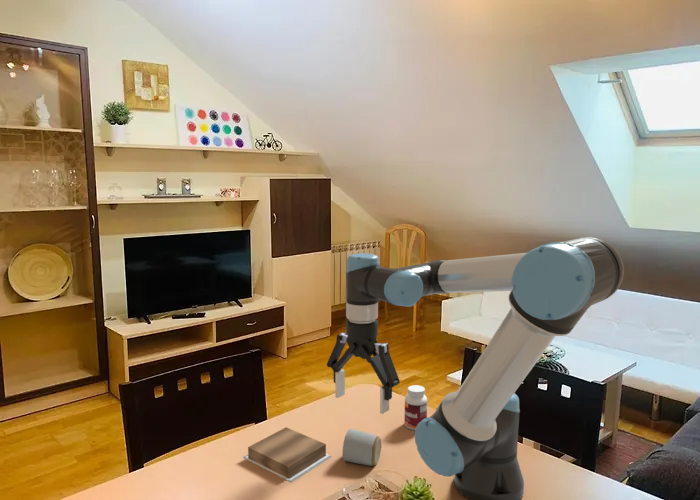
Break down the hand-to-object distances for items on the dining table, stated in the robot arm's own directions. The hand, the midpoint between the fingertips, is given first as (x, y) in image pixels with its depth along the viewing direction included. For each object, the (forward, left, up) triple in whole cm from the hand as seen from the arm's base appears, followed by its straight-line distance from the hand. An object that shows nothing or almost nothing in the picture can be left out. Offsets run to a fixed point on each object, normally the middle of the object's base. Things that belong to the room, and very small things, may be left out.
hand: (361, 403), depth 130 cm
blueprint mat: (+15, +11, -15) cm, 23 cm away
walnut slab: (+15, +11, -14) cm, 23 cm away
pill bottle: (-1, -23, -15) cm, 27 cm away
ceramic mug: (0, 0, -15) cm, 15 cm away
